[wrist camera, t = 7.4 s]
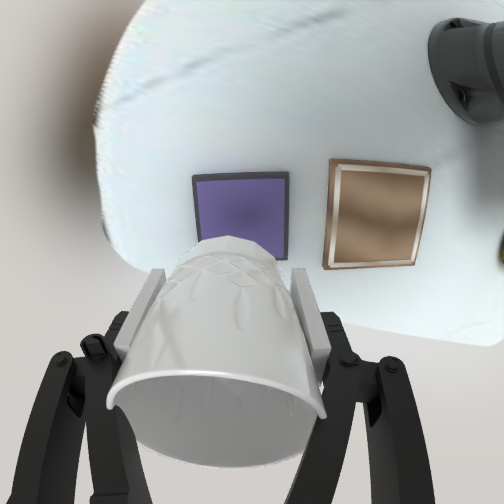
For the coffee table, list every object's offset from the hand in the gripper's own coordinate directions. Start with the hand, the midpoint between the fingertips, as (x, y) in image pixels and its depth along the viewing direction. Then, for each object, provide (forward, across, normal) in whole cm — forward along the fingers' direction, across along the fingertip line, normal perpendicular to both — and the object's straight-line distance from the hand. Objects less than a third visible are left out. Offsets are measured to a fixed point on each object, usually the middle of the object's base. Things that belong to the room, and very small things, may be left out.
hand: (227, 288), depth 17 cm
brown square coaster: (+15, +17, 0) cm, 23 cm away
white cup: (+1, 0, 0) cm, 1 cm away
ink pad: (+15, +1, -1) cm, 15 cm away
